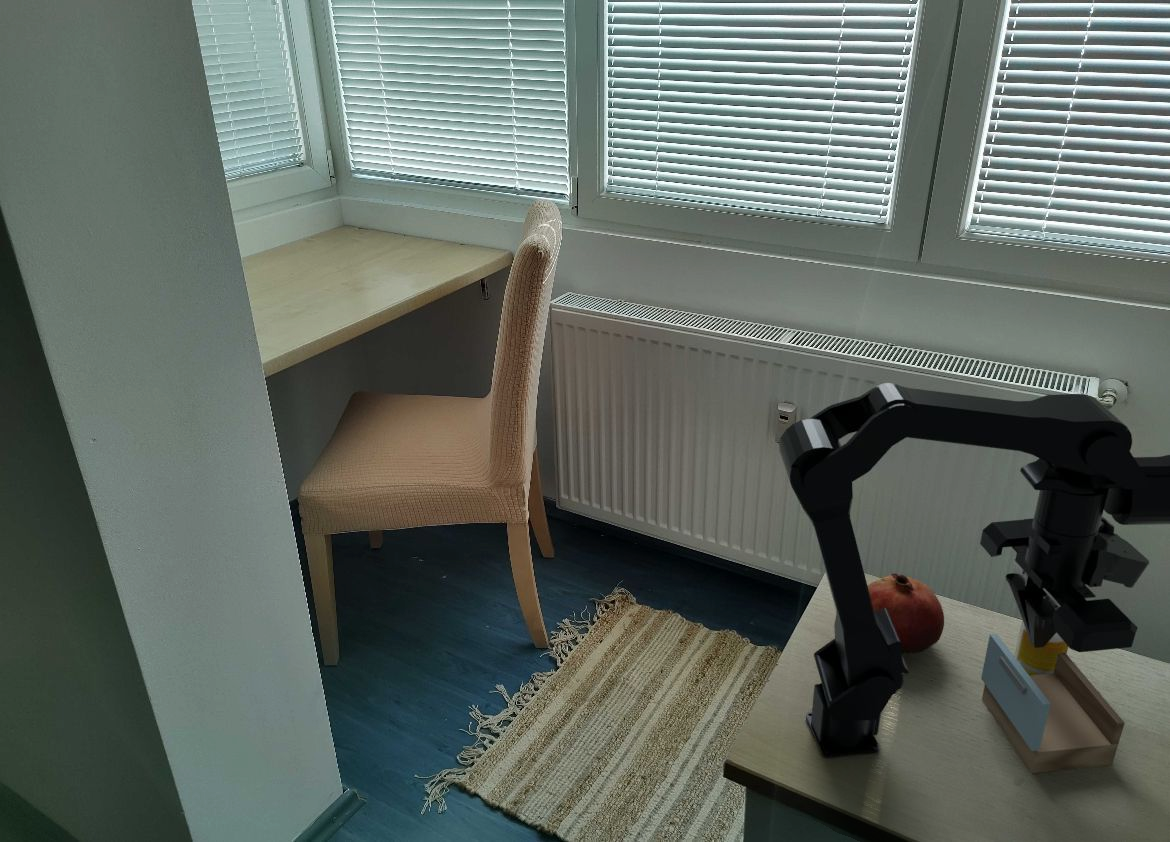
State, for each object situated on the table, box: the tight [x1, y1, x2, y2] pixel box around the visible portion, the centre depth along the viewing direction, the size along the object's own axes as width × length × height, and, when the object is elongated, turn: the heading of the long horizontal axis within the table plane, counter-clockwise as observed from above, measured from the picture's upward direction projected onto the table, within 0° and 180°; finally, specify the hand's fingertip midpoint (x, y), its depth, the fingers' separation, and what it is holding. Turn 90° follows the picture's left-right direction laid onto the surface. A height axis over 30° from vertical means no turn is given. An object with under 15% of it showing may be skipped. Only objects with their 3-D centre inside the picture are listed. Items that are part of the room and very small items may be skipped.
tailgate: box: [980, 633, 1051, 751], centre depth 98 cm, size 1×11×6 cm, turn 6°
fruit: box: [867, 573, 945, 655], centre depth 114 cm, size 11×10×10 cm
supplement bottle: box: [1013, 618, 1069, 676], centre depth 108 cm, size 5×5×10 cm
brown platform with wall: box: [981, 653, 1126, 774], centre depth 100 cm, size 9×11×6 cm
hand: (1037, 645), depth 96 cm, fingers closed
